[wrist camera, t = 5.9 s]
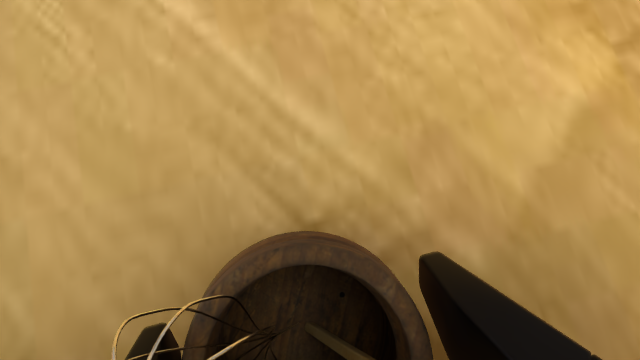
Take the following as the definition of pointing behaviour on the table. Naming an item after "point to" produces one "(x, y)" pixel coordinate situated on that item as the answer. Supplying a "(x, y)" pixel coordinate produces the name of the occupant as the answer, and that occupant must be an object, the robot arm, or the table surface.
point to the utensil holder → (301, 306)
